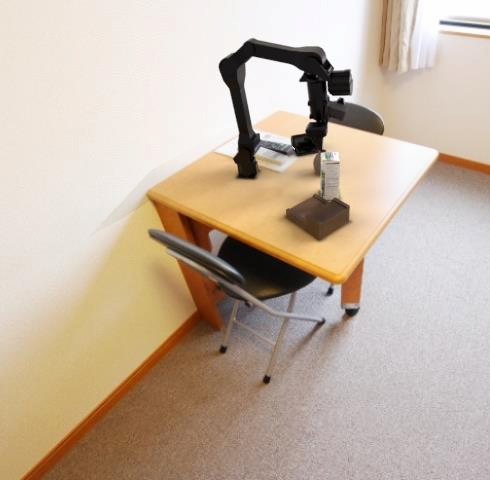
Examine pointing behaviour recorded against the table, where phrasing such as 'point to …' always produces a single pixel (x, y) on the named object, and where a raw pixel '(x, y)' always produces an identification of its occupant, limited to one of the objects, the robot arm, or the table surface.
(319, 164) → the vase
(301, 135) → the end cap
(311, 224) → the dark brown boxy piece
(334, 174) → the syrup box
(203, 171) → the table surface
